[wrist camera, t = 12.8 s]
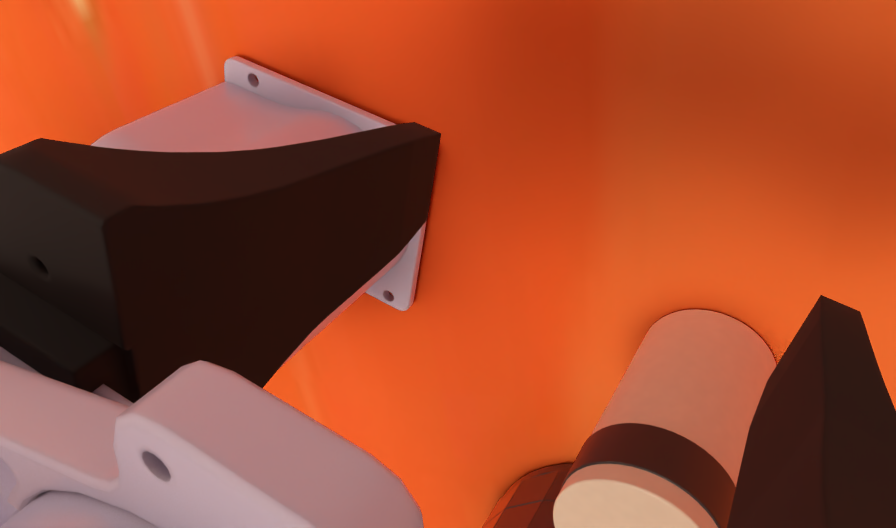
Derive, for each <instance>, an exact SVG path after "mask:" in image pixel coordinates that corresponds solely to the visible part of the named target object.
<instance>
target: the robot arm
mask: <svg viewBox="0 0 896 528" xmlns="http://www.w3.org/2000/svg"><path fill="white" fill-rule="evenodd" d="M224 74H225V82H222V83H220V84H218V85H216V86H213V87H211V88H209V89H206V90H204V91H202V92H200V93H197V94H195V95H193V96H190V97H188V98H186V99H183V100H181V101H179V102H177V103H174V104H172V105H170V106H167V107H165V108H163V109H160V110H158V111H156V112H154V113H151V114H149V115H147V116H144V117H142V118H140V119H137V120H135V121H133V122H131V123H128V124H126V125H124V126H121V127H119V128H117V129H114V130H112V131H111V132H109V133H107V134H105V135H103V136H102V137H100V138H99V139H98V140H96V141H95V142H94V143H92V144H91V145H83V144H76V143H69V142H62V141H55V140H49V139H43V138H40V139H36V140H34V141H32V142H29V143H27V144H24V145H22V146H19V147H17V148H14V149H12V150H10V151H7V152H5V153H2V154H0V528H424V526H423V519H422V514H421V510H420V507H419V506H418V504H417V503H416V501H415V500H414V498H413V497H412V495H411V494H410V492H409V491H408V489H407V488H406V486H405V485H404V483H403V482H402V480H401V479H400V478H399V477H398V476H397V475H396V474H394V473H393V472H392V471H391V470H390V469H388V468H387V467H386V466H385V465H384V464H382V463H381V462H380V461H379V460H377V459H376V458H375V457H374V456H373V455H371V454H370V453H368V452H367V451H365V450H363V449H362V448H360V447H358V446H357V445H355V444H353V443H352V442H350V441H348V440H347V439H345V438H343V437H342V436H340V435H339V434H337V433H335V432H334V431H332V430H330V429H329V428H327V427H325V426H324V425H322V424H320V423H319V422H317V421H315V420H314V419H312V418H310V417H309V416H307V415H305V414H304V413H302V412H300V411H299V410H297V409H295V408H294V407H292V406H290V405H289V404H287V403H286V402H284V401H282V400H281V399H279V398H277V397H276V396H274V395H272V394H271V393H269V392H267V391H266V390H264V389H262V388H263V387H264V386H265V384H266V383H267V382H268V381H269V380H270V378H271V377H272V376H273V375H274V374H275V373H276V371H277V370H278V369H279V368H280V367H282V366H283V365H284V364H285V363H286V362H287V361H288V360H289V359H291V358H292V357H293V356H294V355H295V354H296V353H297V352H298V351H299V350H301V349H302V348H303V347H304V346H305V345H306V344H307V343H308V342H310V341H311V340H312V339H313V338H314V337H315V336H316V335H317V334H319V333H320V332H321V331H322V330H323V329H324V328H325V327H326V326H328V325H329V324H330V323H331V322H332V321H333V320H334V319H335V318H336V317H338V316H339V315H340V314H341V313H342V312H343V311H344V310H345V309H347V308H348V307H349V306H350V305H351V304H352V303H353V302H354V301H356V300H357V299H358V298H359V297H360V296H361V295H362V294H363V293H364V292H365V293H367V294H369V295H371V296H373V297H375V298H377V299H379V300H380V301H382V302H384V303H386V304H388V305H390V306H392V307H394V308H396V309H398V310H401V311H406V310H407V309H409V308H410V307H411V306H412V304H413V301H414V295H415V289H416V283H417V276H418V270H419V264H420V258H421V252H422V246H423V239H424V233H425V227H426V221H427V217H428V211H429V205H430V199H431V193H432V186H433V180H434V174H435V168H436V162H437V156H438V149H439V143H440V137H441V133H438V132H436V131H434V130H431V129H429V128H427V127H424V126H422V125H420V124H417V123H415V122H413V123H403V124H395V123H392V122H390V121H388V120H385V119H383V118H381V117H378V116H376V115H374V114H371V113H369V112H367V111H364V110H362V109H360V108H357V107H355V106H353V105H350V104H348V103H346V102H343V101H341V100H339V99H336V98H334V97H332V96H329V95H327V94H325V93H322V92H320V91H318V90H315V89H313V88H311V87H308V86H306V85H304V84H302V83H299V82H297V81H295V80H292V79H290V78H288V77H285V76H283V75H281V74H278V73H276V72H274V71H271V70H269V69H267V68H264V67H262V66H260V65H257V64H255V63H253V62H250V61H248V60H246V59H243V58H241V57H238V56H234V57H232V58H229V59H227V60H226V61H225V64H224ZM255 76H256V77H257V78H258V81H259V82H258V81H257V79H256V77H255ZM390 292H391V293H392V295H391V294H390ZM727 528H896V411H895V408H894V406H893V403H892V401H891V398H890V396H889V393H888V391H887V388H886V386H885V383H884V381H883V378H882V375H881V372H880V370H879V367H878V364H877V361H876V358H875V355H874V352H873V349H872V346H871V343H870V340H869V337H868V334H867V331H866V327H865V324H864V321H863V319H862V316H861V313H860V311H857V310H855V309H852V308H850V307H848V306H845V305H843V304H841V303H838V302H836V301H834V300H831V299H829V298H827V297H824V296H822V295H821V296H820V297H819V299H818V301H817V302H816V304H815V305H814V307H813V309H812V310H811V312H810V313H809V315H808V317H807V318H806V320H805V321H804V323H803V325H802V326H801V328H800V329H799V331H798V333H797V334H796V336H795V337H794V339H793V340H792V342H791V344H790V345H789V347H788V348H787V350H786V352H785V353H784V355H783V356H782V358H781V360H780V361H779V363H778V364H777V366H776V368H775V369H774V371H773V372H772V374H771V376H770V377H769V379H768V380H767V383H766V385H765V388H764V391H763V393H762V396H761V398H760V401H759V403H758V406H757V409H756V411H755V414H754V417H753V419H752V422H751V425H750V427H749V432H748V436H747V440H746V444H745V449H744V453H743V457H742V462H741V466H740V471H739V475H738V480H737V484H736V489H735V493H734V498H733V502H732V507H731V511H730V515H729V520H728V524H727Z"/></svg>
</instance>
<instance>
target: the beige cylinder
mask: <svg viewBox="0 0 896 528" xmlns="http://www.w3.org/2000/svg"><path fill="white" fill-rule="evenodd" d="M775 368H776V362H775V359H774V357H773V354H772V352H771V351H770V349H769V347H768V346H767V345H766V343H765V342H764V341H763V339H762V338H761V337H760V336H759V335H758V334H757V333H756V332H754V331H753V330H752V329H751V328H749V327H748V326H746V325H745V324H743V323H742V322H740V321H738V320H736V319H734V318H732V317H730V316H727V315H725V314H721V313H718V312H714V311H708V310H699V309H692V310H682V311H678V312H674V313H671V314H669V315H666V316H664V317H663V318H661V319H659V320H658V321H657V322H656V323H654V324H653V325H652V326H651V328H650V329H649V330H648V332H647V334H646V335H645V337H644V339H643V341H642V343H641V344H640V346H639V348H638V350H637V352H636V354H635V355H634V357H633V359H632V361H631V363H630V365H629V366H628V368H627V370H626V372H625V374H624V376H623V377H622V379H621V381H620V383H619V385H618V387H617V388H616V390H615V392H614V394H613V396H612V398H611V399H610V401H609V403H608V405H607V407H606V409H605V410H604V412H603V414H602V416H601V418H600V420H599V421H598V423H597V425H596V427H595V429H594V431H593V432H592V434H591V436H590V437H589V438H588V439H587V440H586V442H585V443H584V445H583V447H582V449H581V451H580V452H579V454H578V456H577V458H576V460H575V461H574V463H573V465H572V467H571V469H570V471H569V472H568V474H567V476H566V478H565V480H564V481H563V483H562V486H561V490H560V493H559V495H558V496H557V498H556V500H555V503H554V507H553V521H554V526H555V528H727V524H728V520H729V515H730V511H731V507H732V502H733V498H734V493H735V489H736V484H737V480H738V475H739V471H740V466H741V462H742V457H743V453H744V449H745V444H746V440H747V436H748V432H749V427H750V425H751V422H752V419H753V417H754V414H755V411H756V409H757V406H758V403H759V401H760V398H761V396H762V393H763V391H764V388H765V385H766V383H767V380H768V379H769V377H770V376H771V374H772V372H773V371H774V369H775Z"/></svg>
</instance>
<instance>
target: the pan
mask: <svg viewBox="0 0 896 528" xmlns="http://www.w3.org/2000/svg"><path fill="white" fill-rule="evenodd" d="M572 465H573V463H566V464H560V465H553V466H548V467H545V468H541V469H538V470H535V471H533V472H531V473H529V474H527V475H525V476H523V477H522V478H520V479H519V480H518V481H517V482H515V483H514V484H513V485H512V486H511V487H510V488H509V490H508V491H507V492H506V493H505V495H504V496H503V497H502V498H500V499H499V501H498V503H497V504H496V506H495V507H494V509H493V511H492V512H491V514H490V515H489V517H488V519H487V520H486V522H485V523H484V525H483V527H482V528H555V526H554V521H553V507H554V503H555V500H556V498H557V496H558V495H559V493H560V490H561V486H562V483H563V481H564V480H565V478H566V476H567V474H568V472H569V471H570V469H571V467H572Z"/></svg>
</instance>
